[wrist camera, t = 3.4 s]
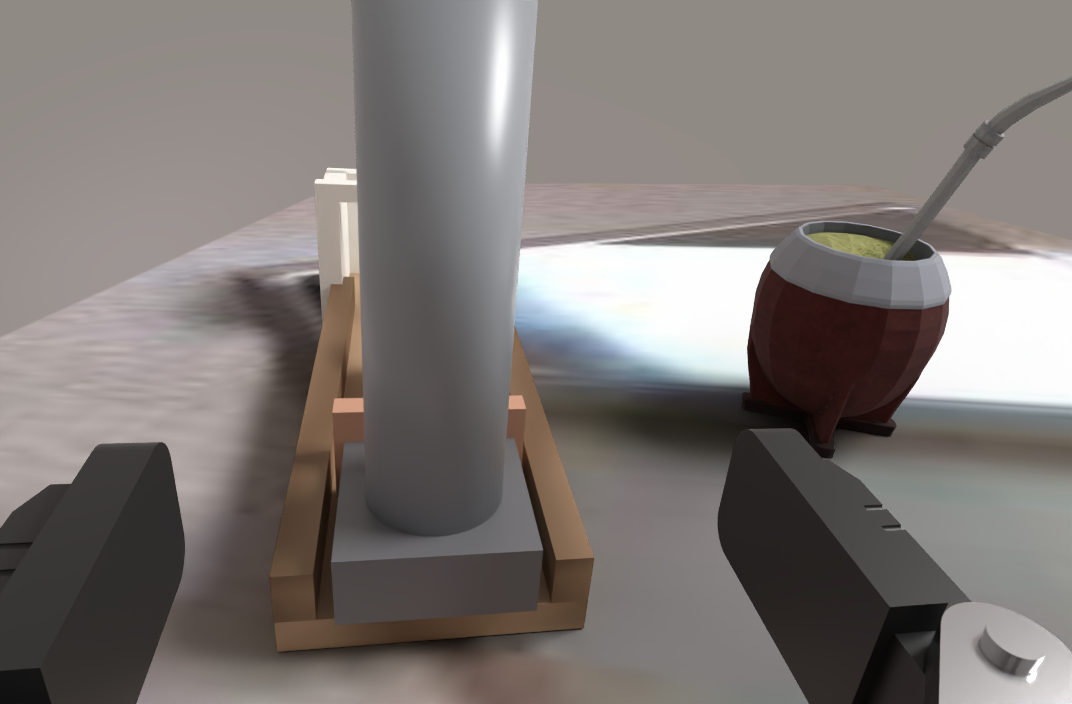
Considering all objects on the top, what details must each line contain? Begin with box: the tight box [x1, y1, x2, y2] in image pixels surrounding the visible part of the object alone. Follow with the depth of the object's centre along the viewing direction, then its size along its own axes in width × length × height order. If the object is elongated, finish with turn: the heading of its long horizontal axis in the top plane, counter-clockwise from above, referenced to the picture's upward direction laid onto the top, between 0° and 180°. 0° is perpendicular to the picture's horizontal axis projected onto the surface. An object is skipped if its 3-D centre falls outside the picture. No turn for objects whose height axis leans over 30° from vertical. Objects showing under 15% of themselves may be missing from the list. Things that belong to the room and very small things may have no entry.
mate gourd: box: [742, 76, 1072, 458], centre depth 28 cm, size 8×8×15 cm
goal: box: [314, 168, 359, 325], centre depth 37 cm, size 9×6×7 cm
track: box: [269, 273, 594, 652], centre depth 30 cm, size 8×26×2 cm, turn 10°
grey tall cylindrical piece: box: [331, 0, 543, 625], centre depth 18 cm, size 6×6×14 cm
